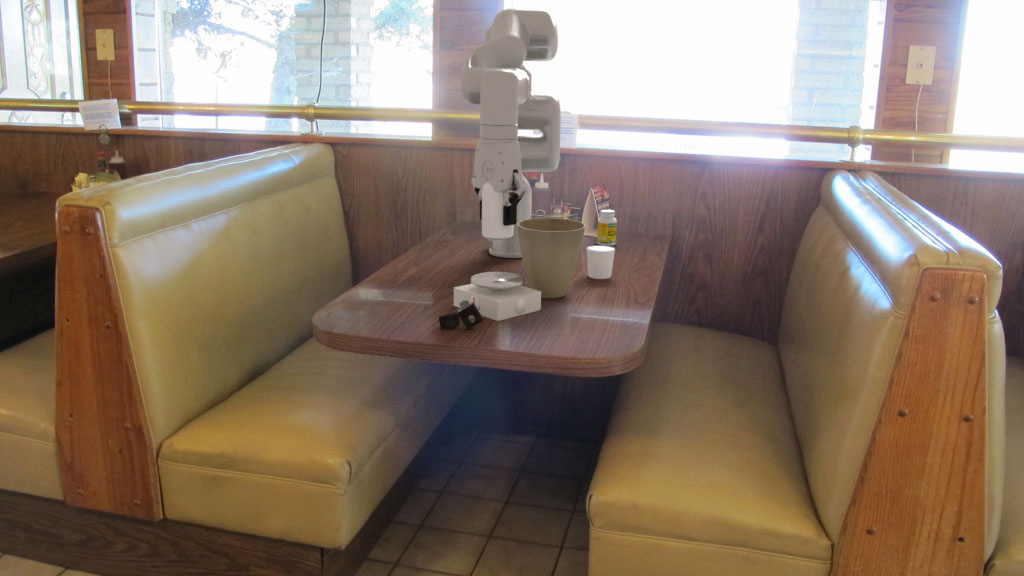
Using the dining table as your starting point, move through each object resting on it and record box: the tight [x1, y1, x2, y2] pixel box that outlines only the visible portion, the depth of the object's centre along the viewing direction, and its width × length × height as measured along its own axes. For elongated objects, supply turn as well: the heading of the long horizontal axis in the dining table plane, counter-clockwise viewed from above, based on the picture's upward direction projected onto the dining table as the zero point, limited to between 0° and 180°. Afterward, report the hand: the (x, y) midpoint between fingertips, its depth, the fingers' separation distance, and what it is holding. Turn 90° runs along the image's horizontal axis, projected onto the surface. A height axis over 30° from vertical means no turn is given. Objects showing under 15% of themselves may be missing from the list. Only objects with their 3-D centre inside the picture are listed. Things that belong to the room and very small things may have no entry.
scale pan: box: [470, 271, 525, 289], centre depth 176 cm, size 11×11×2 cm
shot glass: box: [586, 244, 616, 280], centre depth 203 cm, size 7×7×7 cm
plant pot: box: [517, 217, 586, 299], centre depth 186 cm, size 15×15×16 cm
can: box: [481, 179, 513, 240], centre depth 172 cm, size 6×6×12 cm
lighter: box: [438, 300, 485, 330], centre depth 163 cm, size 8×2×5 cm
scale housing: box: [453, 283, 542, 322], centre depth 176 cm, size 14×12×4 cm
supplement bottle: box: [596, 209, 618, 247], centre depth 238 cm, size 5×5×10 cm
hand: (497, 221), depth 172 cm, fingers closed on can, 6 cm apart
